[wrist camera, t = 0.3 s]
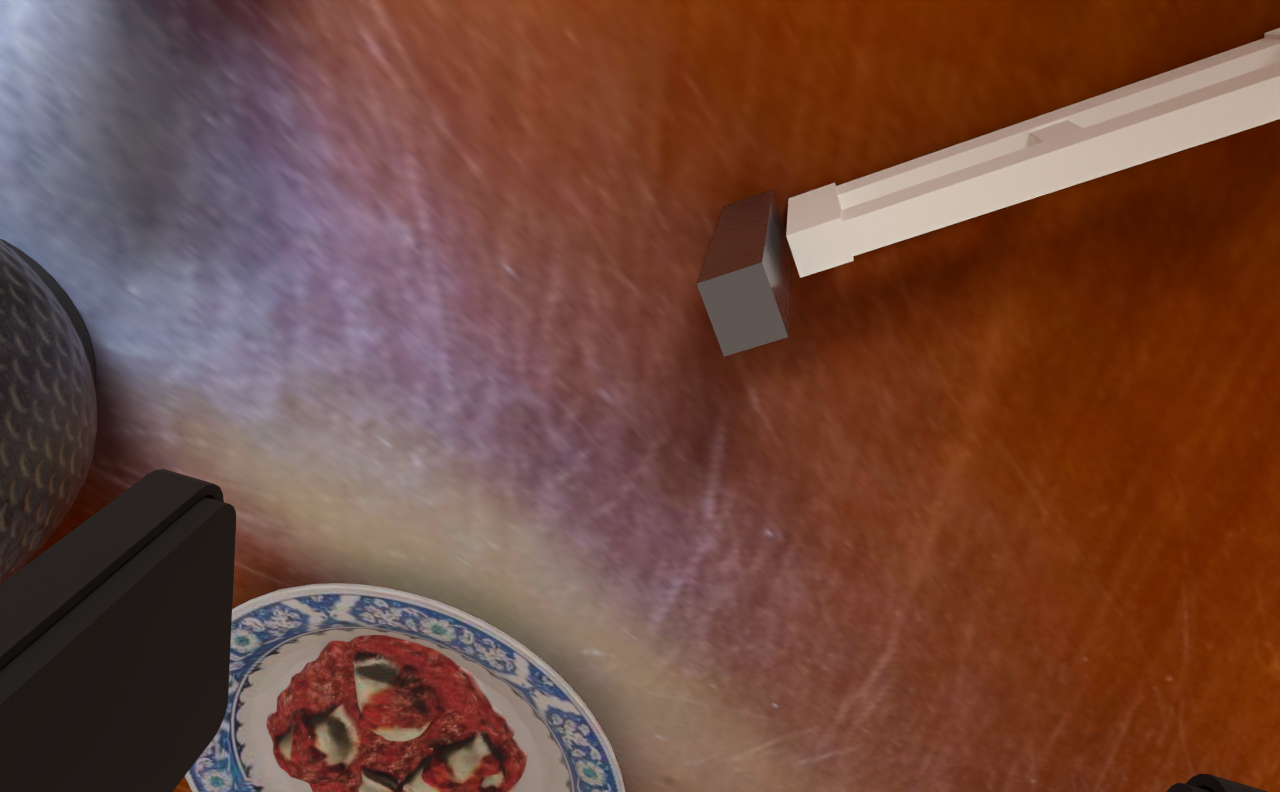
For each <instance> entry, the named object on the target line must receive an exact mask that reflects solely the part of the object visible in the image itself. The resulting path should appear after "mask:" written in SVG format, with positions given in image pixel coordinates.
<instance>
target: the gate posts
mask: <svg viewBox="0 0 1280 792" xmlns="http://www.w3.org/2000/svg"><path fill="white" fill-rule="evenodd" d="M791 253H792V252H791V249H790V246H789V243H788V240H787V237H786V229H785V226H784V223H783V220H782V217H781V214H780V211H779V208H778V205H777V202H776V199H775V196H774V193H773V190H770V191H767V192H764V193H762V194H759V195H756V196H753V197H750V198H747V199H745V200H742V201H739V202H736V203H733V204H730V205H727V206H725V207H723V209H722V212H721V215H720V218H719V221H718V224H717V226H716V229H715V232H714V235H713V238H712V241H711V244H710V247H709V250H708V252H707V255H706V258H705V261H704V264H703V267H702V270H701V273H700V275H699V278H698V281H697V286H698V289H699V291H700V294H701V297H702V299H703V302H704V305H705V307H706V310H707V313H708V315H709V318H710V321H711V323H712V326H713V329H714V331H715V334H716V337H717V339H718V342H719V345H720V347H721V350H722V353H723V355H724V356H728V355H731V354H734V353H738V352H741V351H744V350H747V349H751V348H754V347H757V346H761V345H764V344H767V343H771V342H774V341H777V340H781V339H784V338H787V337H788V330H789V305H790V279H791Z"/></svg>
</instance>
